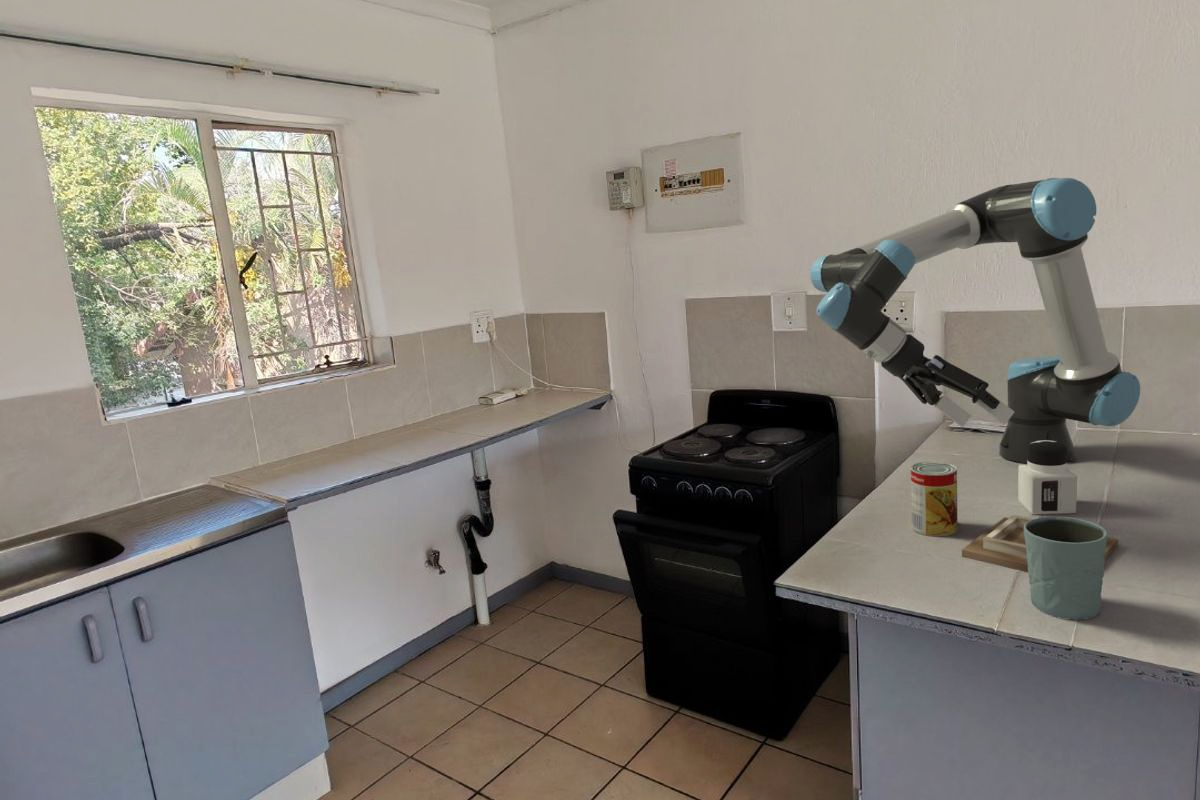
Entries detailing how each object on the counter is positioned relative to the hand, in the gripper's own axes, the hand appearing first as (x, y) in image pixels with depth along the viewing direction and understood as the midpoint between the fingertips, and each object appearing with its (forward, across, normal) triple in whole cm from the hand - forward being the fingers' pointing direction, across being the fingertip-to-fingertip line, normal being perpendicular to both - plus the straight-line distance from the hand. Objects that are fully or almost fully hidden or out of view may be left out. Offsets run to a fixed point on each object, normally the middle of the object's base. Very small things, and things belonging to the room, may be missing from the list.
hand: (986, 419), depth 133 cm
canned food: (+7, -7, -20) cm, 23 cm away
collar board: (+17, +7, -15) cm, 24 cm away
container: (+24, -10, -3) cm, 26 cm away
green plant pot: (+15, +24, -25) cm, 37 cm away
